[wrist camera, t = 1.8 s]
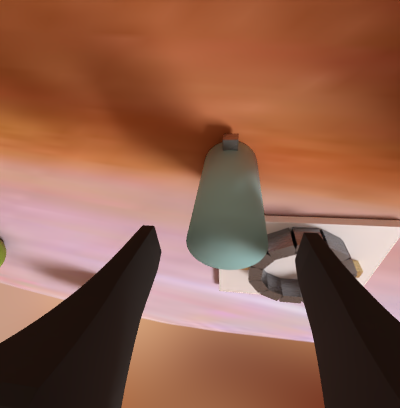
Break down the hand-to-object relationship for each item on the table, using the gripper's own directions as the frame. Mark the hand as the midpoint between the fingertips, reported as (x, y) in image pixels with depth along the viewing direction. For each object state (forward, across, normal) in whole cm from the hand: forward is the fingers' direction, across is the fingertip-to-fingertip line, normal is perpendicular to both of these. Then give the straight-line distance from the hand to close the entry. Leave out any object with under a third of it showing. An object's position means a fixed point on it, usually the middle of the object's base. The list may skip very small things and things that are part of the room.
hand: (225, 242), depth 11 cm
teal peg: (+8, 0, 0) cm, 8 cm away
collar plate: (+8, -7, +11) cm, 15 cm away
